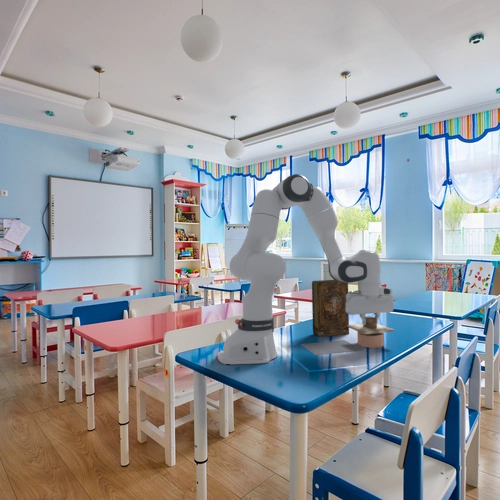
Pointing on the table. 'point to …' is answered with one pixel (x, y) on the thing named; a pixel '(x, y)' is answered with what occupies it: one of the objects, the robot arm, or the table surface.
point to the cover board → (368, 331)
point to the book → (329, 308)
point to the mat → (331, 347)
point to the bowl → (371, 340)
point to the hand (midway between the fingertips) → (369, 324)
